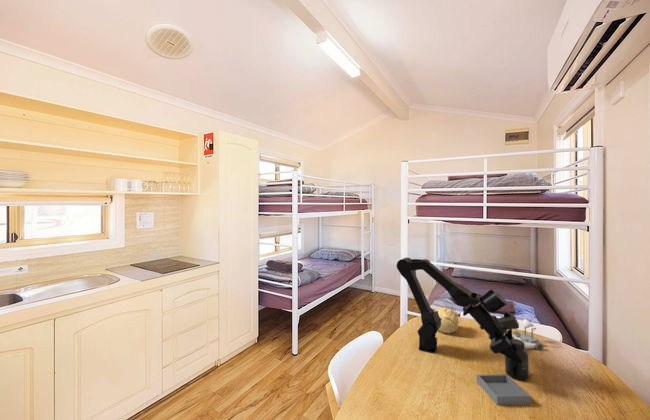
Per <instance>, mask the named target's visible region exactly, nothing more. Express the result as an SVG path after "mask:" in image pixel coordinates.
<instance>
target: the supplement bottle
mask: <svg viewBox="0 0 650 420" xmlns="http://www.w3.org/2000/svg"><path fill="white" fill-rule="evenodd" d="M509 340H510V341H512V348H513V349H514V350H515V352H516V353H517V354H518V356H519V357H520V358H521V360H522V361H523V363H518V362H516V361H514V360H513V359H511V358H509V357H507V356H505V355H504V372H505V374H506V375H508V376H509V377H510V378H511V379H512V380H517V381H521V382H523V381H528V380H529V378H530V367H529V366H530V365H529V363H530V362H529V353H528V351H527V349H525V346H524V342H522V341H521V340H518V339H513V338H510V339H509Z"/></svg>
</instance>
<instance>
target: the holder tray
mask: <svg viewBox="0 0 650 420" xmlns="http://www.w3.org/2000/svg"><path fill="white" fill-rule="evenodd" d="M476 383H477V384H478V386H480V387H481V389H482V390H483V391H484V392H485V393H486V395H487V396H488V397H489V398H490V399H492V401H493V402H494V403H495V404H496V405H498V406H501V405H502V406H503V405H507V406H509V405H531V395H530V394H529V393H528V392H527V391H525V390H524V388H522V387H521V386H520V385H519V384H518V383H517V382H516V381H515V380H514V379H513V378H511V377H510V376H508V375H507V373H503V374H501V373H500V374H498V373H497V374H476Z"/></svg>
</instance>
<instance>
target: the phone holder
mask: <svg viewBox="0 0 650 420" xmlns="http://www.w3.org/2000/svg"><path fill="white" fill-rule="evenodd" d="M531 321H532V319H530V320H528V319H523V327H524V333H520V332H519V331H517V330H515V331H513V332H512V337H513V338H514V339H518V340H521V341H522V342H524V346H525V349H524V350H527V349H535V350H536V351H542V350H543V349H544V346H543V344H541V343H540V340H539V339H538V338H536V337H534V335H533V334H534V333H533V332H534V331H536V329H537V328H536V327H534V326H535V325H534V324H533V323H532V322H531ZM527 329H528V330H529V331H531V335H530V334H528V333H527V331H526V330H527ZM488 339H489V340H491V339H490V338H489V337H488ZM494 339H495V338H494ZM494 339H493V340H494Z"/></svg>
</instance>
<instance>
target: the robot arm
mask: <svg viewBox="0 0 650 420" xmlns="http://www.w3.org/2000/svg"><path fill="white" fill-rule="evenodd" d="M396 269H397V270H398V272H399V274H400V275H401V277H403V279H405V281H406V282H407V285H408V286H409V288H410V291H411V294H412V295H413V299H414V301H415V302H416V304H417V307H418V309H419V312H420V319H421V324H422V325H421V326H419V329H417V334H418V337H419V338H418V339H419V340H418V343H419V345H418V350H419V351H422V352H427V353H431V354H436V351H437V350H438V337H436V336H437V333H438V332H439V331H438V330H439V328H440V326H441V320H442V319H441V318H440V317H439V314H438V311H435V310H433V309H432V307H431V305H430V304H429V302H428V299H427V297H426V295H425V292H424V290H423V289H422V286H421V283H420V281H419V279H418V277H417V271H418V270H419V271H421V270H422V271H424V272H425V273H426V274H427V275H429V277H431V279H433V280H434V281H435V282H437V283H438V284H439V285H440V286H441V287H443V289H445V290H446V292H447V293H448V294H449V296H450V298H452V300H453V301H454V302H455V303H456V304H457V305H458V306H460V307H462V313H463V314H462V316H464V317H465V316H467V315H468V314H469V316H471V317H472V318H473V319H474V321H475V322H476V323H477V324H478V325H479V328H480V330H481V331H483V330H484V331H485V332H486V333H487V335H488V339H489V338H490V339H489V340H491V341H490V345H489V347H490V348H489V349H490V350H491V352H492V353H494V355H497V354H501V355H503V356H504V357H505V356H507V357H509V358H511V359H513V360H514V361H516V362H518V363H523V361H522V360H521V358H520V357H519V356H518V354H517V353H516V352H515V350H514V349H513V348H512V341H510V340H509V339H510V338H513V337H512V334H513V329H514V330H517V329H519V328H520V324H519V323H520V322H519V321H518V320H517V317H516V316H515V315H514V314H512V313H510V312H509V311H504V312H503V316H501V317H497V316H496V315H494V314H493V315H492V314H491V313H495V312H498V311H499V310H500V309H502V308H504V307H505V306H506V305H508V301H507V300H506V299H505V298H504V297H503V295H501V294H500V293H499V292H497V291H496V290H494V289H493V288H490V289H488V290H487V291H486V292H485V293H484V294H479V293H476V292H472V291H471V289H468V288H467V287H465V286H464V285H461V284H459V283H458V282H455V281H453V279H451V278H450V277H449V276H447V275H446V274H445V273H444V272H443V271H442V270H440V269H439V268H438V267H437V266H435V264H433V263H431V261H430V260H429V259H427V258H424V259H420V258H419V259H417V258H410V257H403V258H401V259H399V260H398V261H397V263H396ZM434 311H435V312H434ZM494 338H495V339H494ZM513 339H514V338H513Z"/></svg>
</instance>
